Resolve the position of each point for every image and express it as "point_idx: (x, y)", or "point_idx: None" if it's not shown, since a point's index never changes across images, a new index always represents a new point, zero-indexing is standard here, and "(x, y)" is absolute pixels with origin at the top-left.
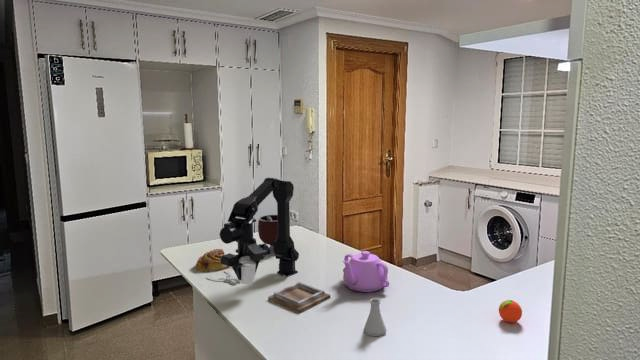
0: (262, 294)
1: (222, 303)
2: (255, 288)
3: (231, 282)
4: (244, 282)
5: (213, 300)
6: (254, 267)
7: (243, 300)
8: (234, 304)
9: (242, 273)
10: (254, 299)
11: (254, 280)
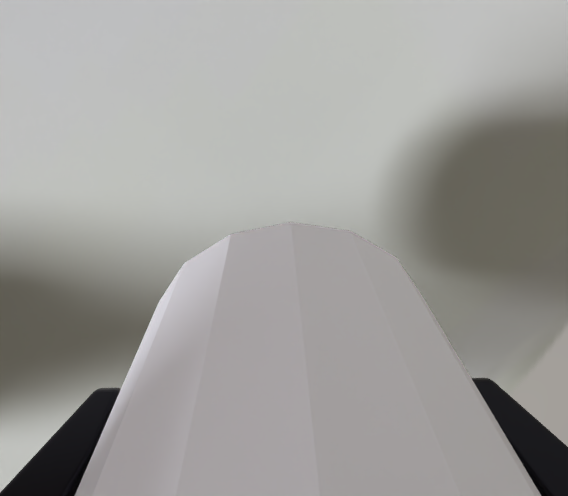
0: (108, 119)
1: (560, 255)
2: (91, 296)
3: None
4: (422, 298)
5: (540, 350)
6: None
7: (385, 157)
8: (524, 148)
9: (537, 490)
10: (278, 76)
11: (199, 260)
